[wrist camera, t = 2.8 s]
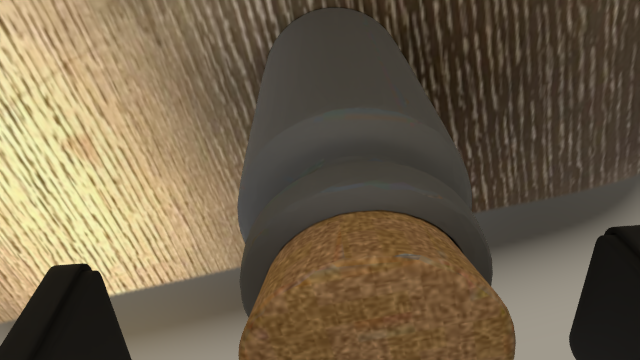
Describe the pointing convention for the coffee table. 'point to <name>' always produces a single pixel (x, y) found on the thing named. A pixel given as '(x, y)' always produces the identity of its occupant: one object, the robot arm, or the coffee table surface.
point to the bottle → (359, 210)
